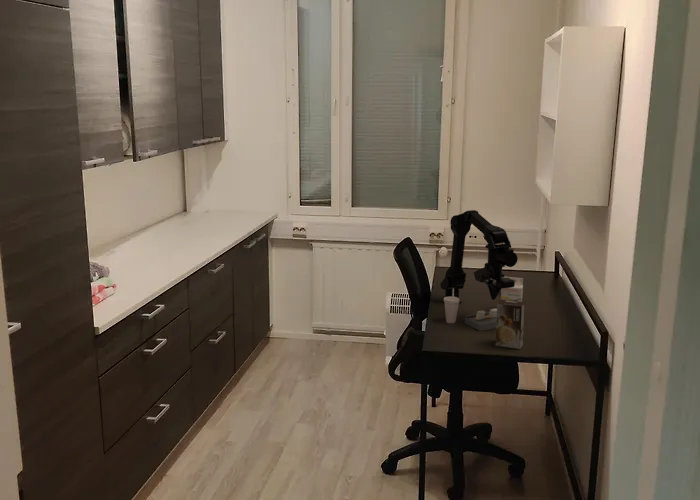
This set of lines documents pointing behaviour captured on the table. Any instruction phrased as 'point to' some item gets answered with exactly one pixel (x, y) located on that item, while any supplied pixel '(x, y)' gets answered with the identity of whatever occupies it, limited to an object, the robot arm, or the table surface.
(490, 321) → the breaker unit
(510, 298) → the ink cartridge box
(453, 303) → the smoothie
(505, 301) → the coffee box
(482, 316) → the breaker paddles
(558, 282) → the table surface
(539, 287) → the table surface
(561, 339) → the table surface
